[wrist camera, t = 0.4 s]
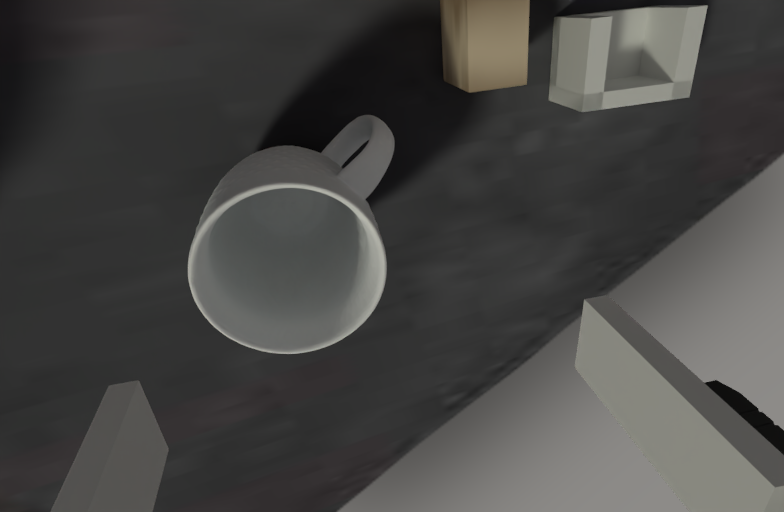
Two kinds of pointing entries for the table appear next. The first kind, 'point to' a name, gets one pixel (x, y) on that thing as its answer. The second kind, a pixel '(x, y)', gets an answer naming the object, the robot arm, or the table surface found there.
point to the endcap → (625, 56)
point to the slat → (485, 43)
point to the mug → (294, 243)
